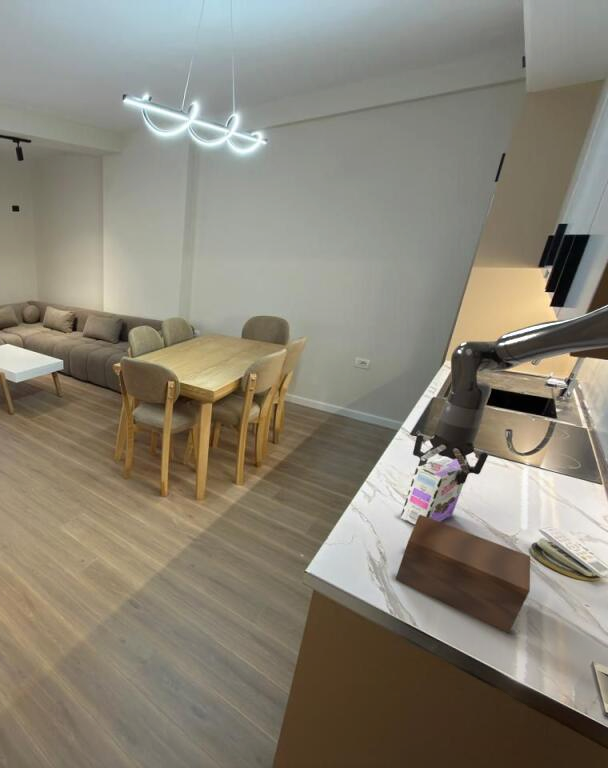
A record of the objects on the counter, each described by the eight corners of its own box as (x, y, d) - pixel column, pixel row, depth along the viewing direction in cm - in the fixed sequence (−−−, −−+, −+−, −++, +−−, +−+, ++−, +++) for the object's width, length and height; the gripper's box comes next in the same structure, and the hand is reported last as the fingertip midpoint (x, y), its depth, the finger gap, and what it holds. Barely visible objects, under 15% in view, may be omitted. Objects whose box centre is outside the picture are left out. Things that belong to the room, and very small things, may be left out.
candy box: (423, 531, 102) (442, 477, 96) (399, 518, 107) (415, 466, 101) (452, 516, 107) (472, 464, 101) (428, 504, 112) (445, 454, 107)
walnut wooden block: (510, 597, 83) (530, 556, 79) (508, 634, 76) (529, 590, 72) (406, 551, 95) (419, 514, 92) (395, 579, 88) (408, 539, 84)
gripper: (420, 416, 99) (403, 472, 105) (499, 435, 89) (475, 495, 95) (425, 407, 104) (408, 461, 110) (500, 424, 94) (478, 483, 100)
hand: (439, 477), depth 103 cm, fingers closed on candy box, 7 cm apart
